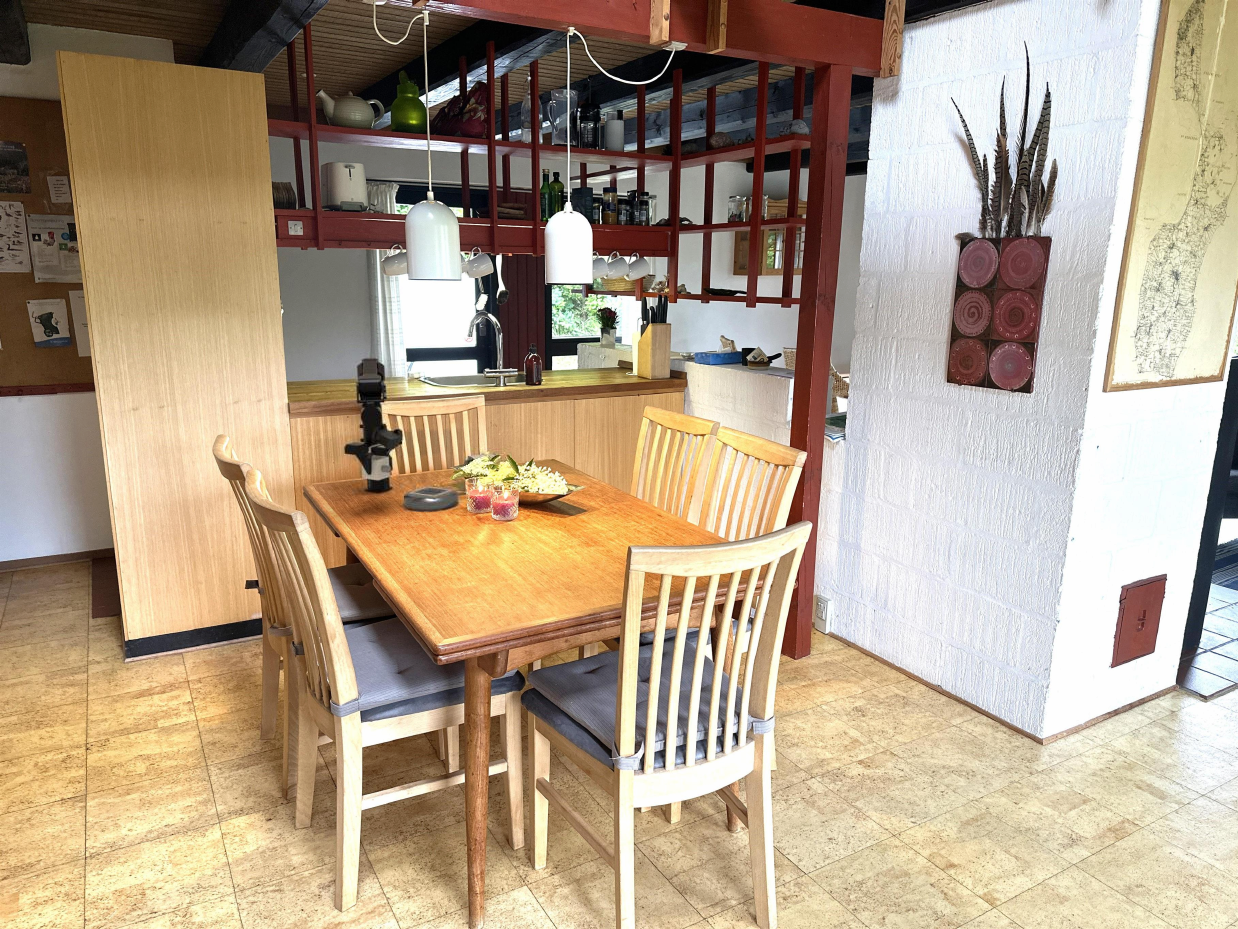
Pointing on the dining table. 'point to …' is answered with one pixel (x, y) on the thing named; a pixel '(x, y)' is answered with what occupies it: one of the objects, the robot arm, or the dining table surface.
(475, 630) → the dining table surface
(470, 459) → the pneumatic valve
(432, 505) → the grey shallow dish
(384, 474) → the pump block
